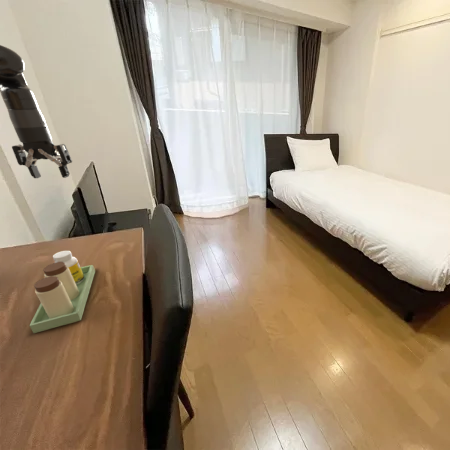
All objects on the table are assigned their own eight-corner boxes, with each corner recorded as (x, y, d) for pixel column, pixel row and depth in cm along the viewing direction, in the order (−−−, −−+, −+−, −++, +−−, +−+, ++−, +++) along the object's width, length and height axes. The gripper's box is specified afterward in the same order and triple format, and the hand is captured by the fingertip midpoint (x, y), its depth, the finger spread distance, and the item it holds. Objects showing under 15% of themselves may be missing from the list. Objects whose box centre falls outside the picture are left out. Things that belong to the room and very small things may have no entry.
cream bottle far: (44, 321, 67) (26, 289, 63) (58, 306, 71) (42, 276, 67) (66, 319, 68) (50, 287, 63) (78, 305, 72) (64, 274, 68)
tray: (59, 279, 83) (56, 272, 82) (95, 271, 86) (92, 264, 85) (33, 333, 64) (29, 325, 63) (81, 320, 68) (77, 312, 67)
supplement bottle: (62, 290, 77) (48, 261, 73) (62, 280, 81) (49, 253, 77) (85, 282, 80) (73, 254, 76) (84, 274, 84) (72, 247, 80)
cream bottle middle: (52, 303, 73) (36, 272, 68) (64, 291, 77) (50, 261, 73) (72, 301, 73) (58, 271, 69) (83, 289, 78) (70, 260, 73)
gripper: (-7, 126, 78) (18, 181, 85) (47, 126, 79) (68, 180, 86) (14, 124, 84) (36, 174, 92) (64, 123, 86) (82, 173, 93)
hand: (52, 177), depth 89 cm, fingers open, 8 cm apart
